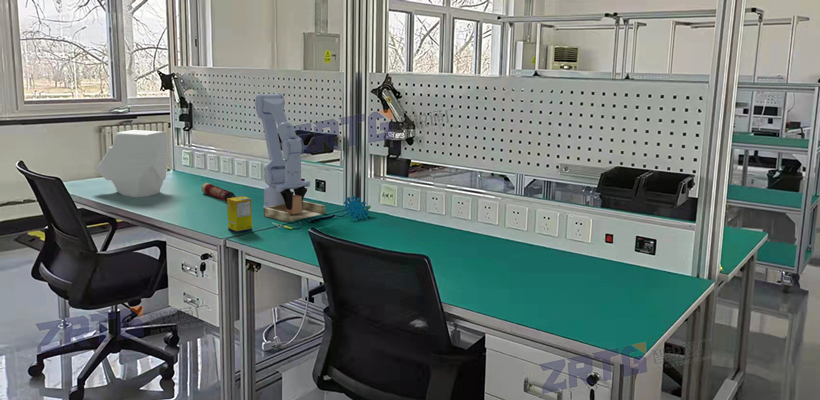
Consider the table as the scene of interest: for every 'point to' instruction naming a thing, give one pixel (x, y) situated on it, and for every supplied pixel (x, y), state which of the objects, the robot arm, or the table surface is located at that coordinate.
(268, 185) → the robot arm
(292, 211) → the block
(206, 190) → the red cylinder
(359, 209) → the gear
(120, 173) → the white low-poly rock
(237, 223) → the supplement box
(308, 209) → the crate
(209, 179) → the table surface
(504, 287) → the table surface
